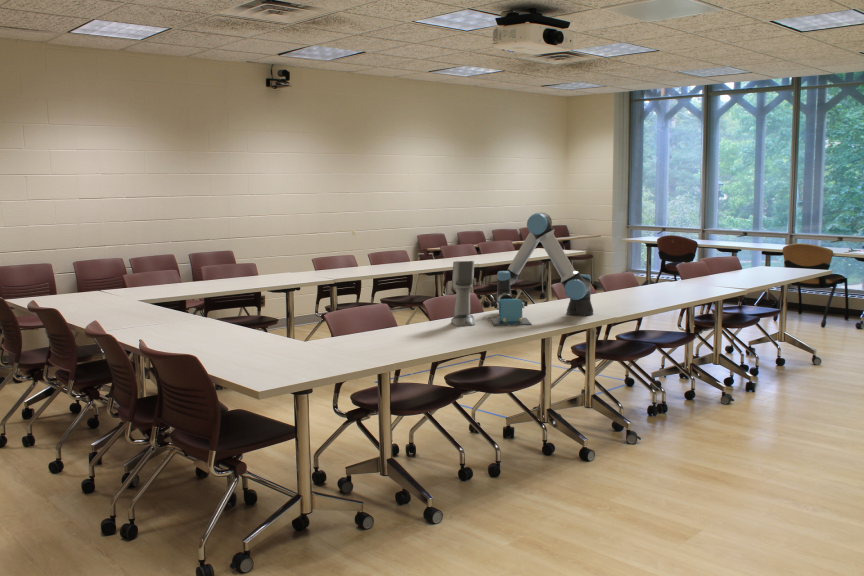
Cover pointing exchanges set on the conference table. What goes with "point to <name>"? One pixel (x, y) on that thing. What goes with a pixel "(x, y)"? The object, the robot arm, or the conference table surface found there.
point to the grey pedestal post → (462, 292)
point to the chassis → (499, 323)
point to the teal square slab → (510, 309)
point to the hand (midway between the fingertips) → (511, 306)
